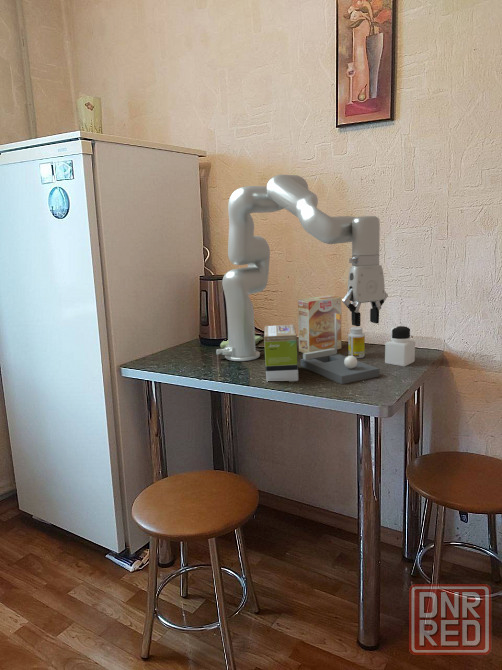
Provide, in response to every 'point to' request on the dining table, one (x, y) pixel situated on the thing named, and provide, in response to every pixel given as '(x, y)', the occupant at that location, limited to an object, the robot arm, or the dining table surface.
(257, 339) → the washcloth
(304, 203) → the robot arm
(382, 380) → the dining table surface
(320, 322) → the coffeecake box
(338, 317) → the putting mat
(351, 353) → the supplement bottle
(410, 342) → the medicine bottle
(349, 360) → the ball
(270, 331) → the tea box
